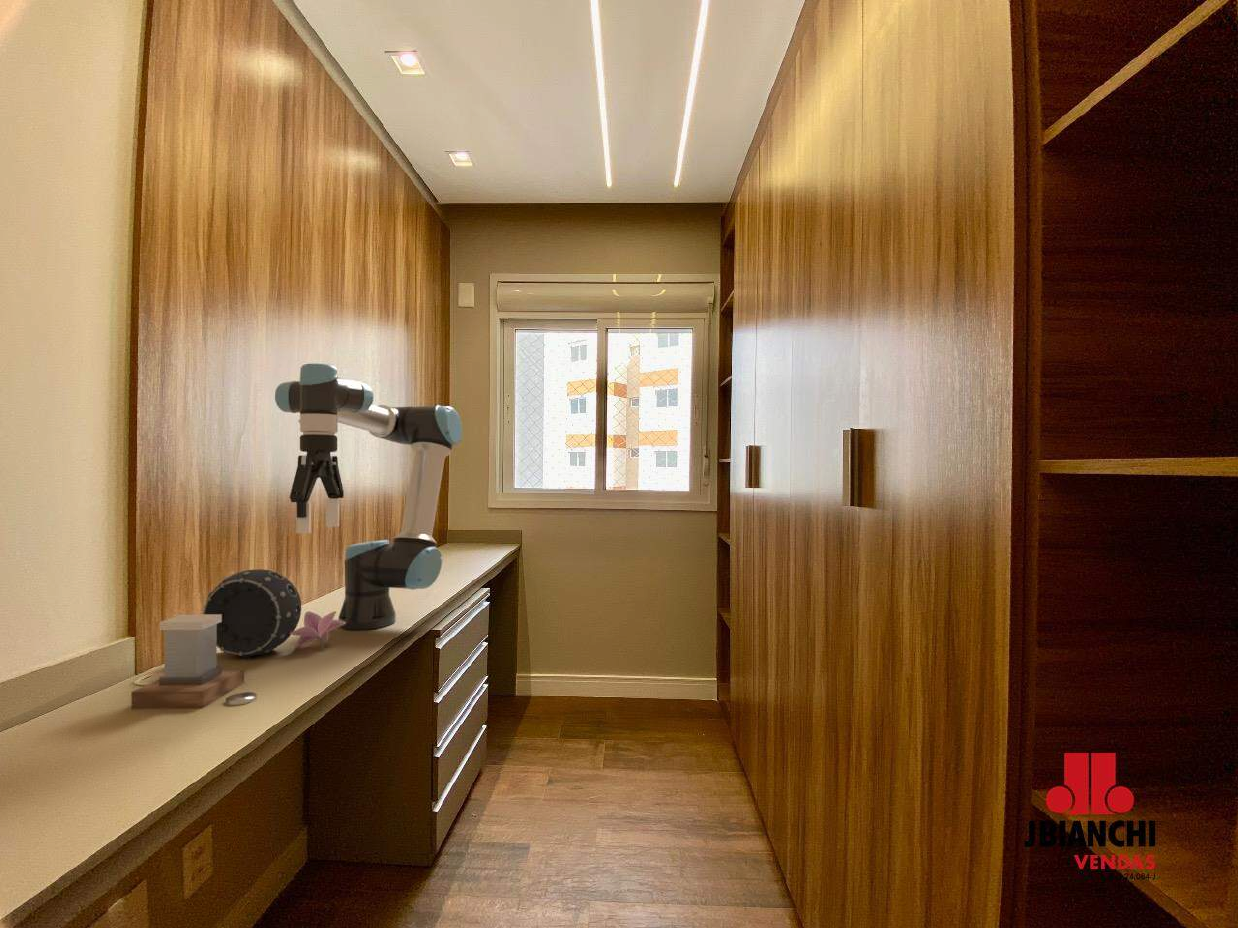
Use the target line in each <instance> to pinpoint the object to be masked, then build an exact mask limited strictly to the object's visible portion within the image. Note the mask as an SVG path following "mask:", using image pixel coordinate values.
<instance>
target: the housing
mask: <svg viewBox="0 0 1238 928" xmlns="http://www.w3.org/2000/svg"><path fill="white" fill-rule="evenodd" d="M220 622H222V614H203V613H202V614H179V615H176V616H173V617H170V618H168V619H165V620H162V621H159V626H158V627H159V631H164V674H163V675H161V676H159V678H158V679H159V685H203V684H204V683H206V682H208V681H210V680H212V679H214V678H215V677H217V676H219V675H221V674H222V666H217V660H218V659H217V658H218V657H217V651H218V650H217V648H218V647H217V624H218V623H220Z"/></svg>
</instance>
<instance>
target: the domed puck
mask: <svg viewBox="0 0 1238 928" xmlns="http://www.w3.org/2000/svg"><path fill="white" fill-rule="evenodd" d="M257 700H258V699H257V693H256V692H252V691H251V692H247V691H246V692H239V693H235V694H232V695H230V696H228V697H227V698H226V699H225V704H226V705H227V706H230V707H231V706H233V707H234V706H242V705H243V704H244V705H247V704H250V703H252V702H255V701H257ZM244 705H243V706H244Z"/></svg>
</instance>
